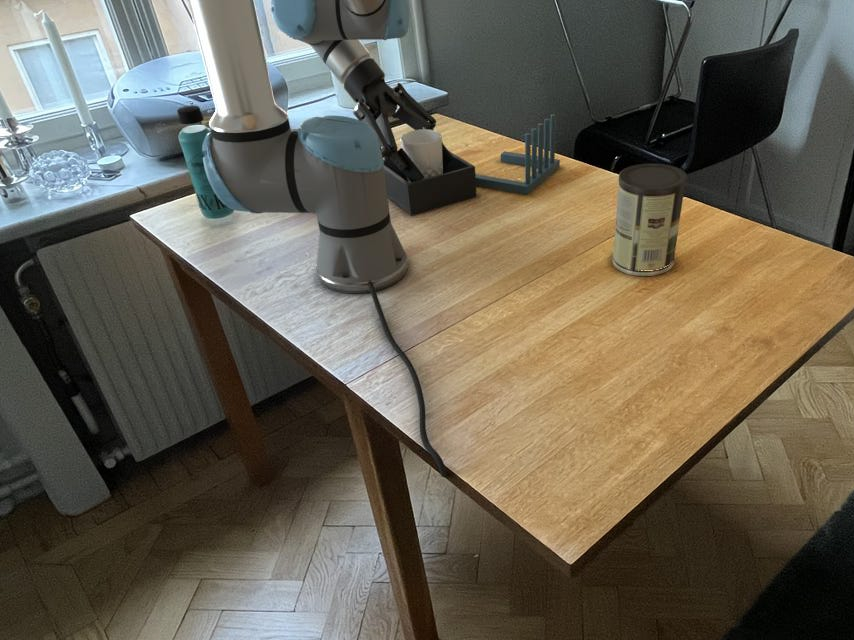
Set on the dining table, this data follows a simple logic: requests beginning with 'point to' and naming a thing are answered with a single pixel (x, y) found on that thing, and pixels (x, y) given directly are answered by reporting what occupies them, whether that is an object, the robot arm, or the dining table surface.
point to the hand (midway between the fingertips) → (434, 172)
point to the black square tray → (430, 187)
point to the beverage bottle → (199, 162)
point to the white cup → (424, 151)
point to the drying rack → (528, 162)
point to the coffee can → (648, 218)
